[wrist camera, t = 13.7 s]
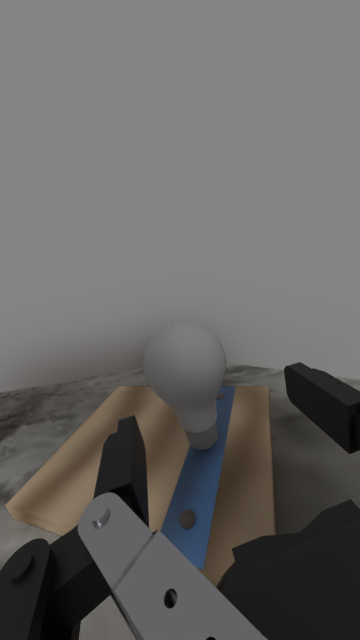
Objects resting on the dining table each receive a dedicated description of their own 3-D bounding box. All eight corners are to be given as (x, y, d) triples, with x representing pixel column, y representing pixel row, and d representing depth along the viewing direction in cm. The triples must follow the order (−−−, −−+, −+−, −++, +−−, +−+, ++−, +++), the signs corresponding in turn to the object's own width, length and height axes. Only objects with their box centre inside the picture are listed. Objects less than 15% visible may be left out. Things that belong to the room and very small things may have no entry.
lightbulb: (176, 419, 23) (147, 317, 19) (238, 415, 21) (218, 305, 18) (162, 480, 17) (118, 349, 14) (245, 479, 16) (218, 335, 12)
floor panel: (13, 518, 18) (4, 503, 18) (121, 395, 32) (118, 384, 32) (279, 612, 11) (275, 591, 10) (269, 398, 25) (267, 384, 24)
